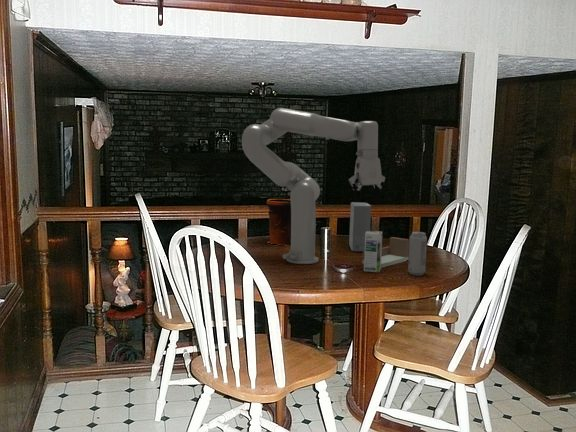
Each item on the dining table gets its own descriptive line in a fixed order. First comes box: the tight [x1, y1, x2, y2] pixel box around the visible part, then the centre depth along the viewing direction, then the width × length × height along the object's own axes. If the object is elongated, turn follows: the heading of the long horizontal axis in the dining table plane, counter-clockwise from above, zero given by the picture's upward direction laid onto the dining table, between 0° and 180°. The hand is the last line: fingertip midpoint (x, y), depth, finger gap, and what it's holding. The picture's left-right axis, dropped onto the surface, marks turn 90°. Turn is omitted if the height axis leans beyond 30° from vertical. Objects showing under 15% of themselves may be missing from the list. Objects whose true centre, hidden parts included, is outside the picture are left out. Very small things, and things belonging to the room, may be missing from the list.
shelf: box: [361, 236, 410, 269], centre depth 217 cm, size 19×9×8 cm, turn 137°
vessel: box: [266, 198, 291, 246], centre depth 253 cm, size 14×14×20 cm
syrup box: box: [363, 230, 383, 273], centre depth 202 cm, size 6×6×14 cm
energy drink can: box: [407, 231, 428, 276], centre depth 198 cm, size 6×6×15 cm
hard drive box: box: [348, 201, 372, 252], centre depth 243 cm, size 16×8×20 cm, turn 179°
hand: (367, 200), depth 208 cm, fingers open, 9 cm apart
